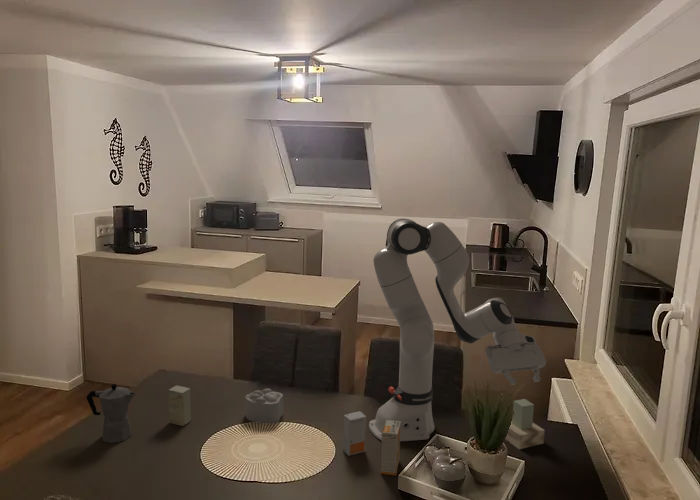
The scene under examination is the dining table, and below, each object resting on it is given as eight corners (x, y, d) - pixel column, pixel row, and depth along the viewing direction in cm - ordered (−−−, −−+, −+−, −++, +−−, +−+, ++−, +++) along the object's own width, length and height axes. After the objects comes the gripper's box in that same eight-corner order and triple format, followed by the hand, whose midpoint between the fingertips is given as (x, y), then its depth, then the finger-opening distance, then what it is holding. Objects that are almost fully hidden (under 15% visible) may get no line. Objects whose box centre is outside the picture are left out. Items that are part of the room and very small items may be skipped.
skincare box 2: (348, 456, 165) (349, 420, 163) (342, 450, 169) (343, 414, 167) (365, 452, 168) (366, 416, 166) (359, 445, 171) (360, 410, 169)
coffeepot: (142, 429, 180) (139, 378, 177) (132, 443, 170) (129, 390, 167) (95, 429, 179) (92, 378, 176) (82, 443, 170) (79, 390, 167)
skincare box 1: (168, 423, 184) (167, 389, 182) (177, 417, 188) (176, 384, 186) (183, 426, 182) (182, 392, 180) (192, 420, 186) (190, 387, 184)
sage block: (520, 429, 174) (522, 406, 172) (512, 423, 178) (513, 400, 177) (532, 427, 175) (533, 404, 174) (523, 421, 180) (524, 398, 178)
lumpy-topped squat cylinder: (276, 424, 184) (276, 401, 183) (240, 421, 186) (240, 397, 185) (285, 411, 194) (285, 388, 193) (251, 407, 196) (250, 385, 195)
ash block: (519, 450, 171) (520, 435, 170) (498, 435, 180) (499, 421, 179) (543, 444, 175) (544, 430, 174) (522, 430, 184) (523, 416, 183)
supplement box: (396, 476, 155) (398, 434, 153) (380, 474, 156) (381, 432, 154) (400, 461, 163) (401, 420, 161) (384, 459, 164) (385, 419, 162)
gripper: (488, 342, 174) (503, 382, 167) (539, 337, 182) (556, 375, 174) (479, 350, 179) (494, 389, 172) (529, 345, 186) (545, 383, 179)
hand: (525, 382), depth 173 cm, fingers open, 8 cm apart
